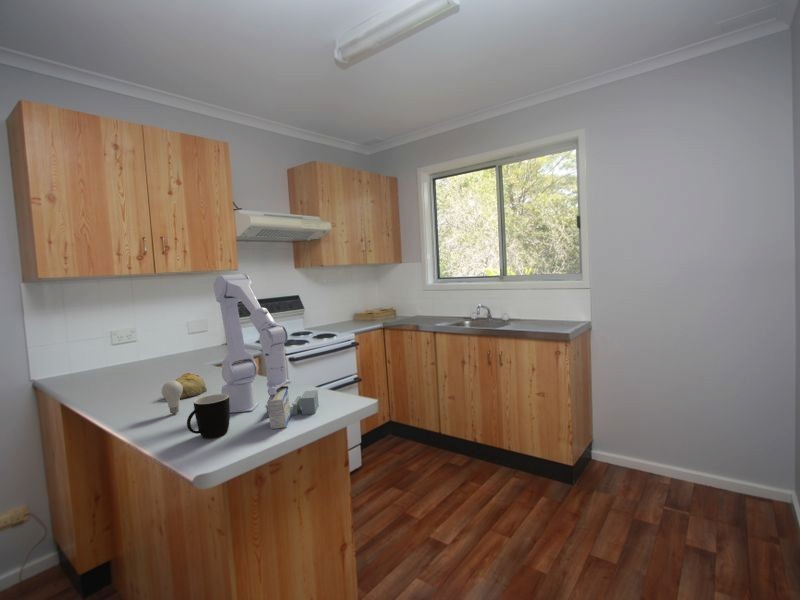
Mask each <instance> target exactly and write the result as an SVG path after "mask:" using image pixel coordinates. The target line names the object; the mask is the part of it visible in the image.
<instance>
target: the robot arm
mask: <svg viewBox="0 0 800 600" xmlns="http://www.w3.org/2000/svg"><path fill="white" fill-rule="evenodd" d="M252 288H253V283H252V280H251V278H250V276H249V275H248V274H247V273H240V274H239V273H238V274H218V275H217V276H216V277H215V279H214V282H213V289H214V295H215V296H214V297H215V300H216V302H218V304H219V308H220V312H221V318H222V322H223V328H224V333H225V334H224V335H225V339H226V344H227V346H226V347H227V350H228V354H227V355H226V356H225V357H224V359H222V361H221V376H222V379H223V381H224V382H225V383H223V384H222V386H221V393H220V394H227V395H228V396H229V403H230V413H242V412H243V413H244V412H245V413H246V412H252V411H253V410H254V409H255V408H256V407H257V406H258V405H259V402H257V401H255V395H254V394H255V391H254V384H253V383H254V381H255V377H256V376H257V375H258V369H259V368H258V366H257V363H256V361H255V358H254V355H253V354H251V353H250V352H248V351H247V350H246V346H245V341H244V336H243V329H242V324H241V323H242V322H241V319H240V314H239V307H238V304H239V302H241V303H242V304H243V305H244V307H245V308H246V309H247V310H248V312H249V313H250V315H249V319H250V321H251V323H252V324H253V326H254V328H255V329H256V330H257V332H258V334H259V336H258V341H259V344H260V345H261V348H262V349H261V351H262V353H263V354H264V358H265V359H264V360H265V370H266V381H267V382H266V386H267V394H268V396H270V395H276V391H277V389H283V388H287V389H288V390H289V386H288V385H289V384H291V383H292V379H288V373H287V362H286V349H285V344H286V343H287V342H288V337H289V336H288V331H287V329H286V327H285V326H284V325H282V324H280V323H277V322H276V321H275V319H274V318H273V316H272V315H271V313H270V312H269V310H268V309H267V308H266V307H262V306H261V304H260V302H259V301H258V299H257V297H256V295H255V294H254V292H253V289H252Z"/></svg>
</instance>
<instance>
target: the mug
mask: <svg viewBox="0 0 800 600" xmlns="http://www.w3.org/2000/svg"><path fill="white" fill-rule="evenodd" d="M230 415H231V414H230V403H229V396H228V395H227V394H221V393H217V394H215V393H214V394H209V395H204V396H201V397H198V398H196V399H195V400H194V401H193V411H191V413H189V415H188V417H187V419H186V427H187V429H188V431H189V432H190V433H192V434H197V435H198V434H200V436H201V437H202V438H203V439H207V440H209V439H210V440H211V439H216V438H221V437H222V436H225V435H226V434H227V433H228V431H229V428H230V417H231V416H230ZM194 416H195V421H196V424H197V428H198V430H195V429H193V428H192V424H191V423H192V419H193V417H194Z"/></svg>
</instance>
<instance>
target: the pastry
mask: <svg viewBox="0 0 800 600" xmlns="http://www.w3.org/2000/svg"><path fill="white" fill-rule="evenodd" d="M175 381H177V382H179V383H180V384H181V385H182V387H183V392H182V394H181V397H180V399H187V398H190V397H194V396H200V395H201V394H204V393H206V392H207V390H208V388H207V387H206V383H205V381H204V378H202V377H201V376H200V375H198V374H193V373H190V372H188V373H184V374H182V375H181V376H179V377H178V378H177V379H175Z"/></svg>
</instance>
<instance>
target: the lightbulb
mask: <svg viewBox="0 0 800 600" xmlns="http://www.w3.org/2000/svg"><path fill="white" fill-rule="evenodd" d="M182 392H183V387H182V385H181V384H180V383H179V382H177V381H176V380H170V381H167V382H166V383H164V384H163V385H162V387H161V395H162V397H163V398H164V399H165V400H166V402H167V405H168V406H167V407H168V408H169V413H170V414H172V415H177V413H179V412H180V408H179V407H180V399H181V398H180V397H181V394H182Z"/></svg>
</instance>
